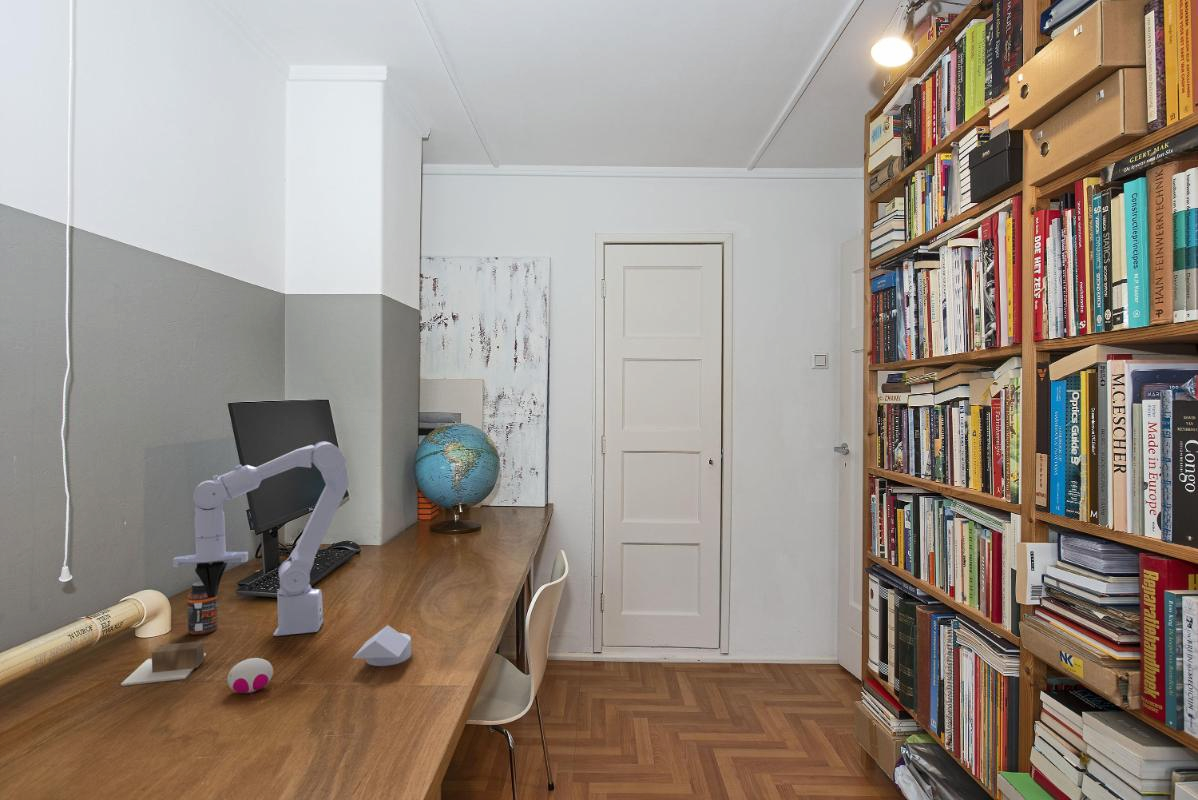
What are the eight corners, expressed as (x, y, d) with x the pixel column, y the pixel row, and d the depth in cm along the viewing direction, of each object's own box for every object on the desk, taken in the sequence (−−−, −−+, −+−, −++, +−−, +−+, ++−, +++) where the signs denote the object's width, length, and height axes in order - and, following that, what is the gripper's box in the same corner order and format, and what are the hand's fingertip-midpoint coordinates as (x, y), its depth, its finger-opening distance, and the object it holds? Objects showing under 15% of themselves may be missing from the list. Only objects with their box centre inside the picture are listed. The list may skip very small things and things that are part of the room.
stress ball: (229, 716, 122) (225, 695, 118) (229, 678, 128) (225, 657, 124) (275, 705, 125) (273, 684, 122) (273, 668, 131) (271, 647, 127)
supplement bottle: (204, 636, 153) (202, 587, 153) (182, 635, 154) (180, 586, 154) (223, 627, 159) (222, 579, 159) (202, 626, 160) (200, 578, 160)
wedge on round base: (399, 674, 131) (416, 647, 144) (398, 639, 131) (415, 616, 144) (352, 675, 131) (373, 649, 144) (351, 641, 131) (372, 618, 144)
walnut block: (203, 640, 139) (159, 645, 137) (196, 648, 135) (151, 652, 133) (204, 660, 139) (160, 664, 137) (197, 667, 135) (152, 672, 133)
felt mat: (206, 654, 143) (206, 653, 142) (185, 678, 131) (185, 676, 131) (147, 660, 140) (147, 659, 140) (120, 685, 128) (120, 683, 128)
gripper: (251, 529, 154) (253, 588, 155) (180, 533, 151) (182, 594, 151) (242, 535, 147) (244, 597, 148) (168, 540, 144) (170, 603, 144)
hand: (212, 596), depth 149 cm, fingers closed
